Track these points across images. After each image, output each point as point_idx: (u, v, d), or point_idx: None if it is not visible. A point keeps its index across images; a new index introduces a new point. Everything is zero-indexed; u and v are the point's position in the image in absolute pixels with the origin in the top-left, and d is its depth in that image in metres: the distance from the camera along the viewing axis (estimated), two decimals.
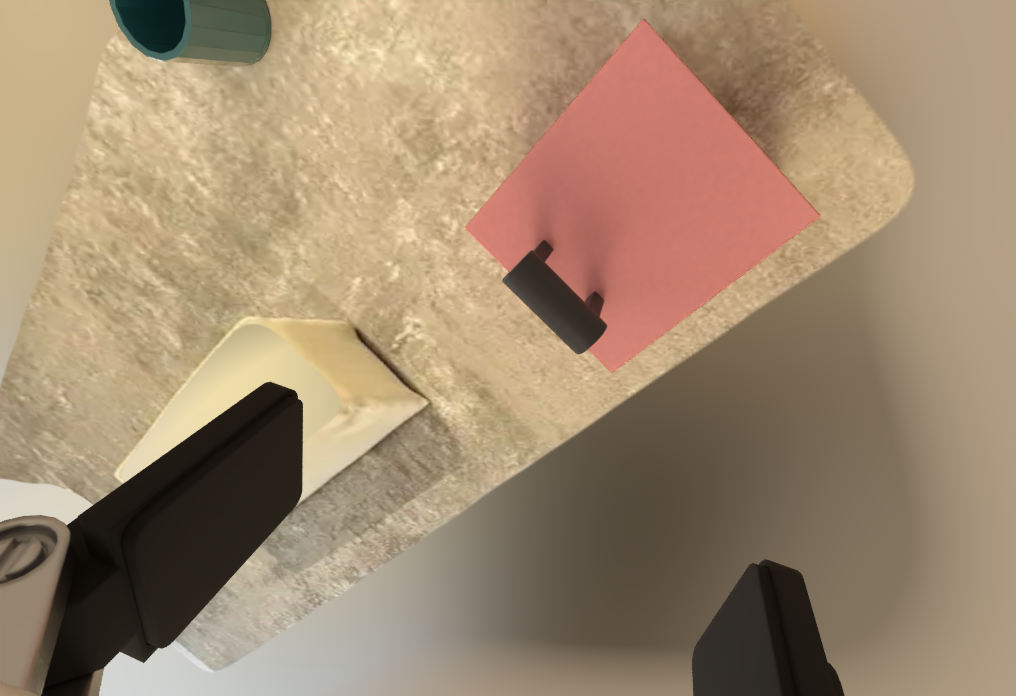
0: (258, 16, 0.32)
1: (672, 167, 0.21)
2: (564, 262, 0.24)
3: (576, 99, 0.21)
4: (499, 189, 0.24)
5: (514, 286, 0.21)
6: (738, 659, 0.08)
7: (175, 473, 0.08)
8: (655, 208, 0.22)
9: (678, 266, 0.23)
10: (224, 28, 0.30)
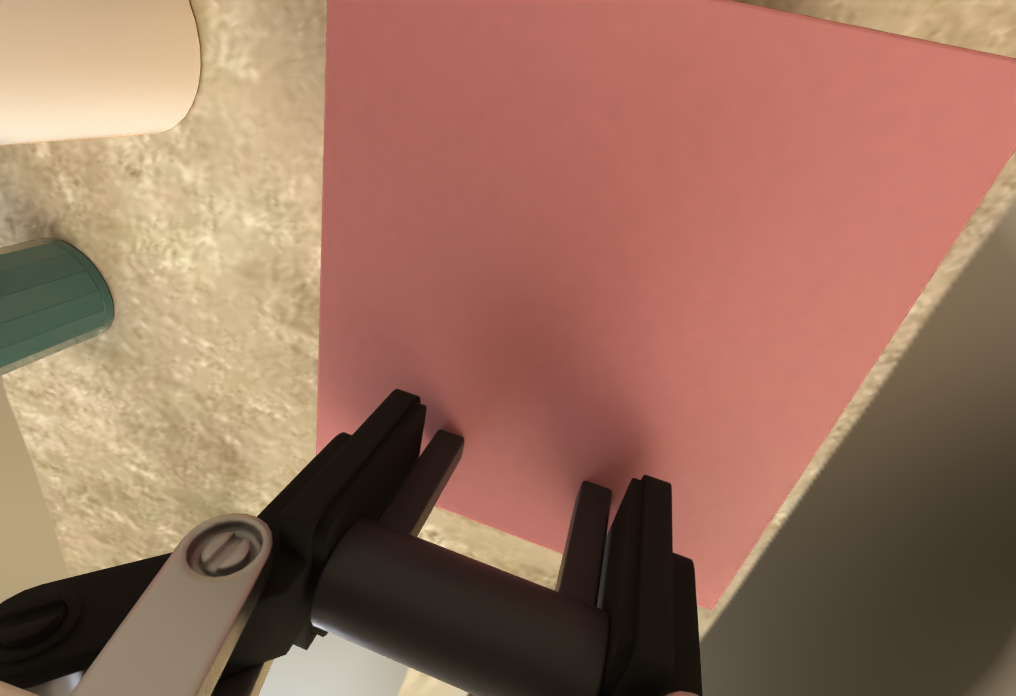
0: (76, 275, 0.25)
1: (582, 178, 0.09)
2: (497, 451, 0.12)
3: (325, 161, 0.10)
4: (319, 380, 0.12)
5: None
6: (612, 555, 0.10)
7: (345, 474, 0.08)
8: (600, 278, 0.09)
9: (725, 369, 0.09)
10: (21, 314, 0.23)
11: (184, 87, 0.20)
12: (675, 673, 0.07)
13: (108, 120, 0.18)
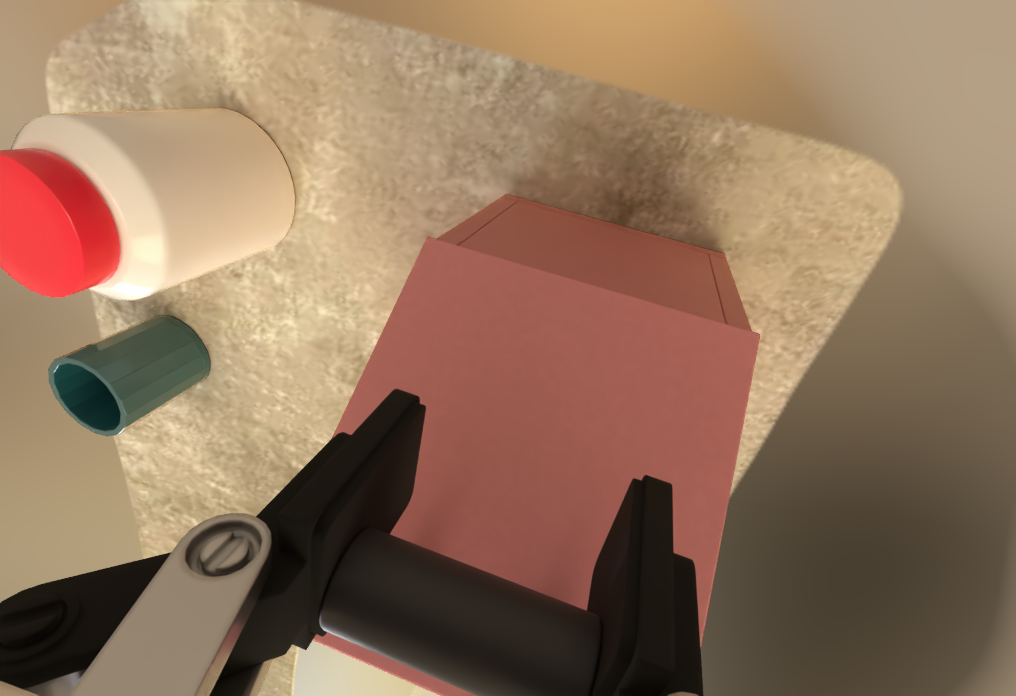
0: (187, 344, 0.34)
1: (547, 359, 0.15)
2: None
3: (381, 337, 0.15)
4: None
5: (348, 616, 0.08)
6: (613, 556, 0.10)
7: (344, 474, 0.08)
8: (556, 420, 0.14)
9: None
10: (155, 378, 0.31)
11: (283, 227, 0.28)
12: (676, 673, 0.07)
13: (237, 258, 0.27)
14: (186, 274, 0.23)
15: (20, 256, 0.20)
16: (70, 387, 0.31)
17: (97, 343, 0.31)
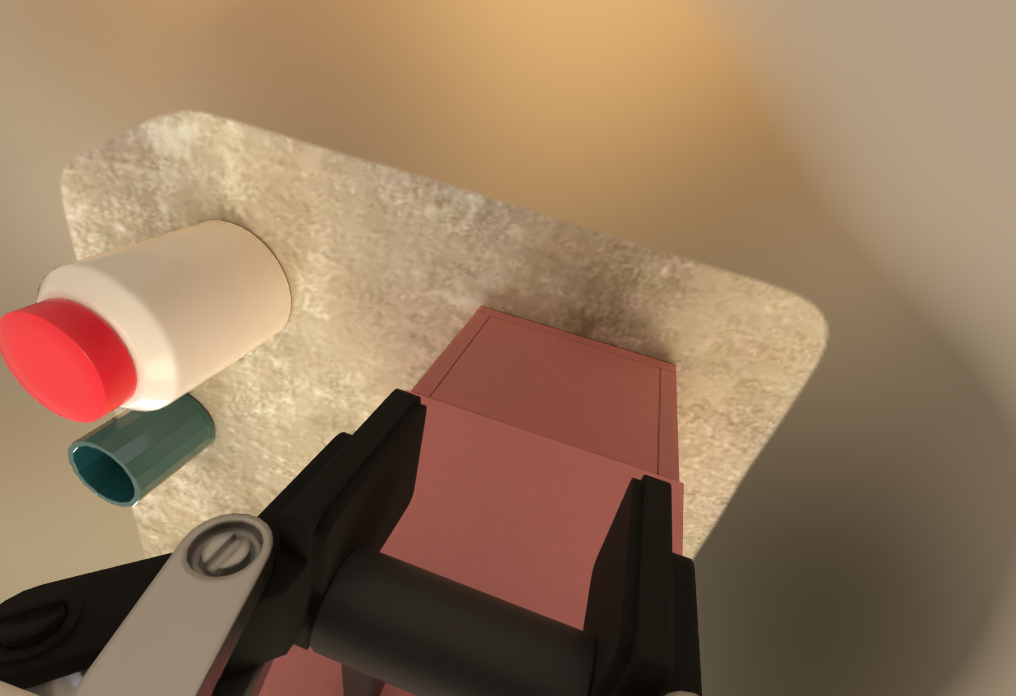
0: (193, 417, 0.37)
1: (507, 489, 0.16)
2: None
3: None
4: None
5: (351, 605, 0.08)
6: (612, 555, 0.10)
7: (346, 474, 0.08)
8: (517, 540, 0.15)
9: None
10: (165, 453, 0.34)
11: (281, 324, 0.31)
12: (674, 673, 0.07)
13: (239, 357, 0.29)
14: (194, 386, 0.26)
15: (49, 389, 0.22)
16: (87, 462, 0.34)
17: (112, 423, 0.33)
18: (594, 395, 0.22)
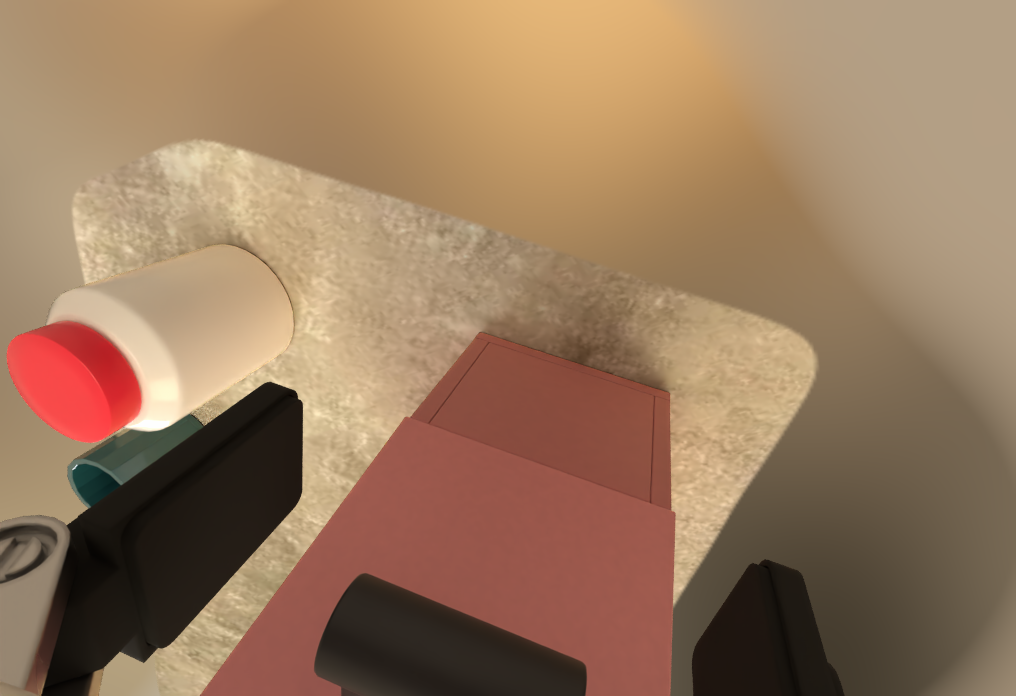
0: None
1: (504, 516, 0.17)
2: None
3: (356, 485, 0.17)
4: (246, 635, 0.12)
5: (355, 632, 0.09)
6: (738, 659, 0.08)
7: (175, 473, 0.08)
8: (513, 567, 0.15)
9: (594, 633, 0.14)
10: None
11: (283, 346, 0.31)
12: None
13: (241, 379, 0.30)
14: (196, 407, 0.26)
15: (55, 409, 0.23)
16: (86, 480, 0.34)
17: (112, 441, 0.34)
18: (589, 422, 0.23)
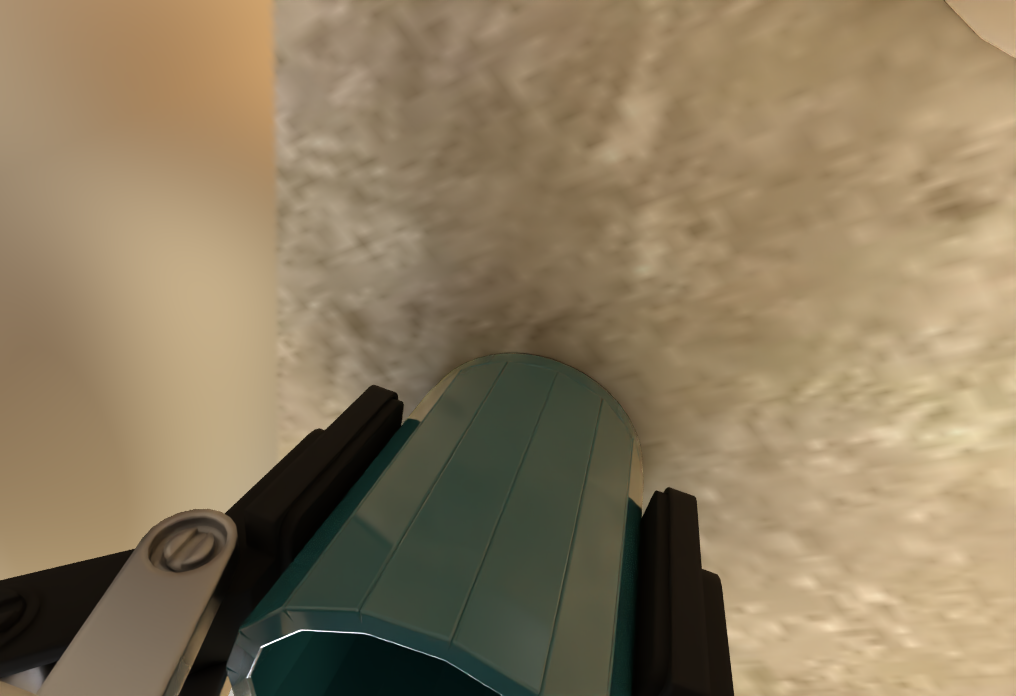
0: (626, 453, 0.10)
1: None
2: None
3: None
4: None
5: None
6: None
7: (315, 470, 0.08)
8: None
9: None
10: (632, 621, 0.08)
11: None
12: None
13: None
14: None
15: None
16: (291, 657, 0.08)
17: (434, 494, 0.07)
18: None
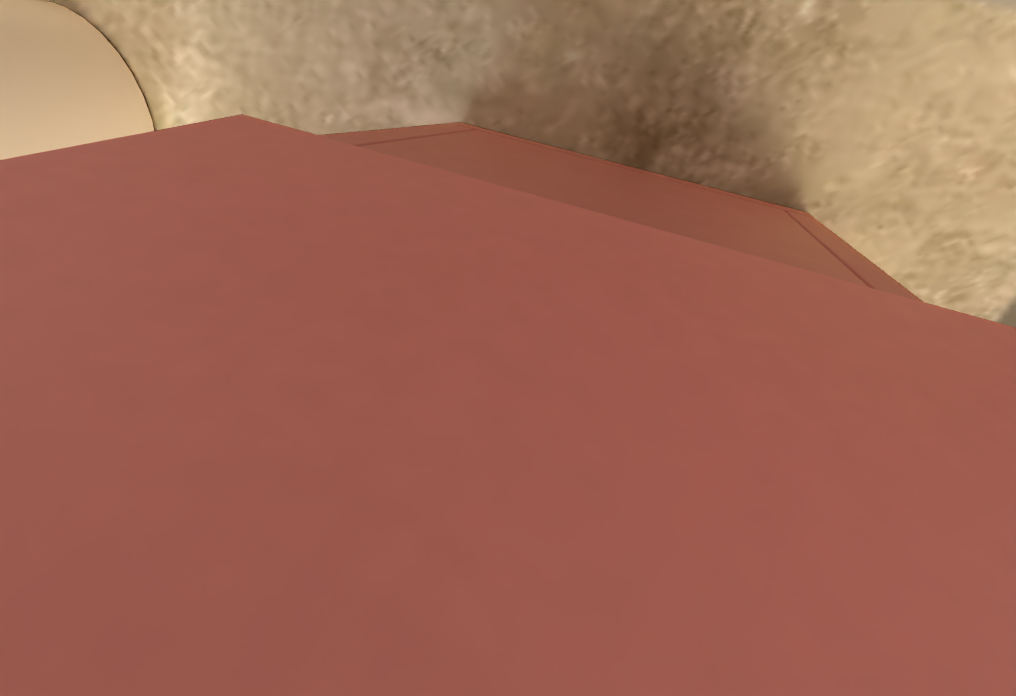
0: None
1: (496, 286, 0.05)
2: None
3: None
4: None
5: None
6: None
7: None
8: (538, 430, 0.03)
9: None
10: None
11: None
12: None
13: None
14: None
15: None
16: None
17: None
18: (686, 211, 0.10)
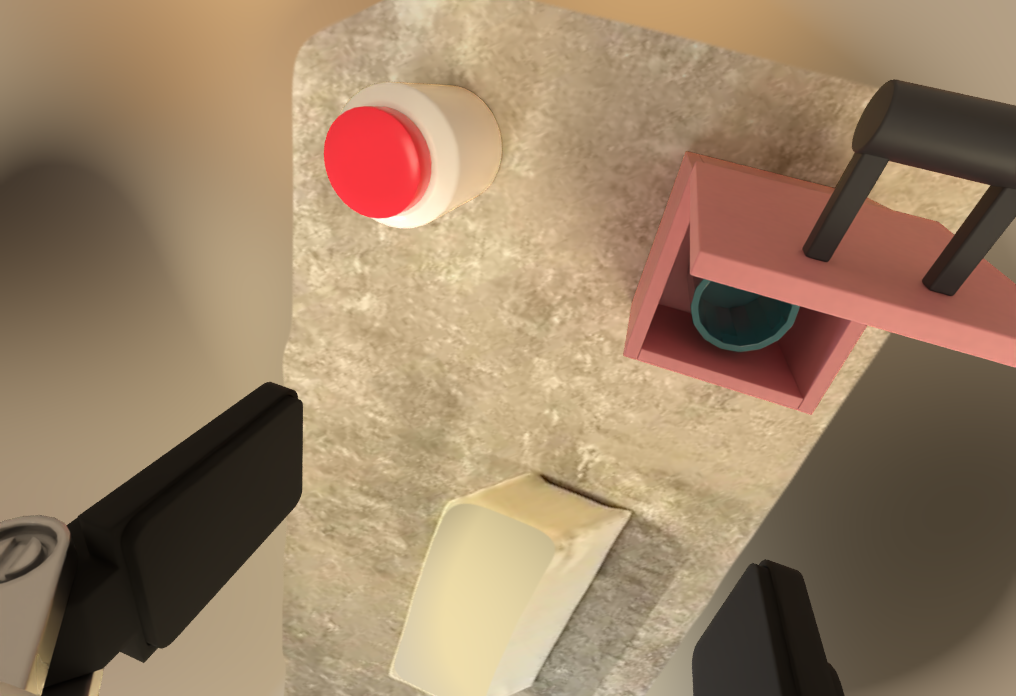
0: None
1: (818, 206, 0.21)
2: (850, 263, 0.16)
3: (698, 180, 0.20)
4: (701, 220, 0.16)
5: (917, 89, 0.12)
6: (738, 659, 0.08)
7: (175, 473, 0.08)
8: None
9: (934, 253, 0.18)
10: None
11: (490, 181, 0.35)
12: None
13: (463, 203, 0.34)
14: (449, 208, 0.30)
15: (361, 186, 0.27)
16: None
17: None
18: None
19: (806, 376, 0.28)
